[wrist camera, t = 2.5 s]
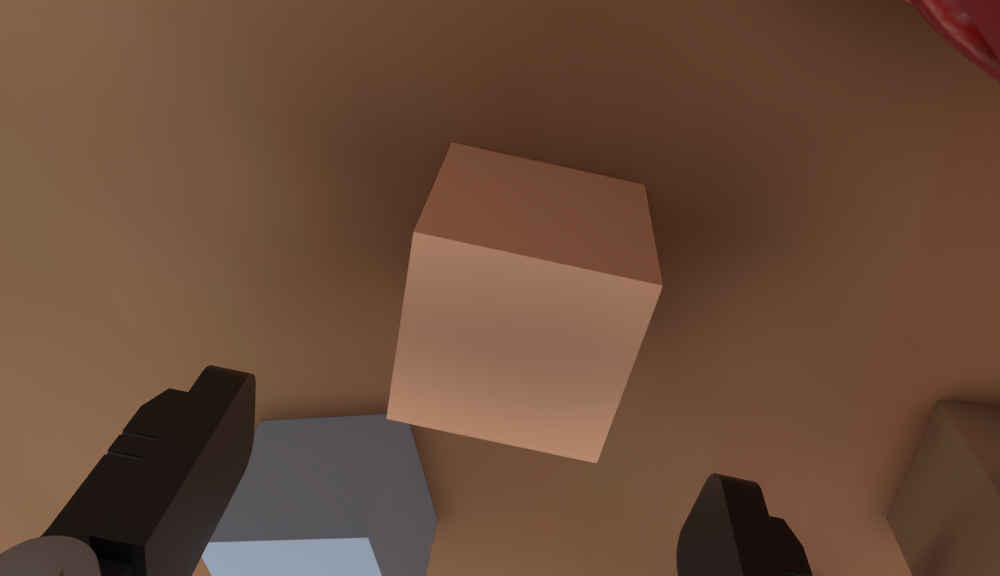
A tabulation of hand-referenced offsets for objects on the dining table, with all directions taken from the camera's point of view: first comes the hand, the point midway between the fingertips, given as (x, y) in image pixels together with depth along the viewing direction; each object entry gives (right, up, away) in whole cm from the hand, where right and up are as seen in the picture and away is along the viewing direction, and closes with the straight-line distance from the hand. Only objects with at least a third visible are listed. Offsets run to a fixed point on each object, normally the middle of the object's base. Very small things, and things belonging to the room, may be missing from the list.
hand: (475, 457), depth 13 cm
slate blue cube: (-5, -3, +12) cm, 14 cm away
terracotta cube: (+1, +4, +7) cm, 8 cm away
